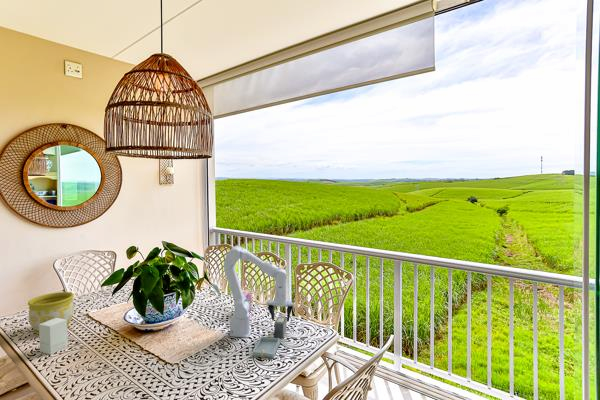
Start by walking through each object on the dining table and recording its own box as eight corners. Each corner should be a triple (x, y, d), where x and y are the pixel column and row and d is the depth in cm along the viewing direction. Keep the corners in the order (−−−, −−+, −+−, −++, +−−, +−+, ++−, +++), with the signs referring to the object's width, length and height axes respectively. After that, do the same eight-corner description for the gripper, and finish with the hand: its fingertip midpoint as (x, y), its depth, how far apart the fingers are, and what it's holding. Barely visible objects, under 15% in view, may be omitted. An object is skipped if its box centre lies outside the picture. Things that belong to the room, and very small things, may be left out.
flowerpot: (27, 341, 138) (27, 307, 137) (29, 328, 152) (28, 297, 151) (75, 330, 150) (75, 298, 149) (73, 318, 163) (72, 289, 163)
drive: (274, 337, 144) (274, 323, 144) (277, 329, 152) (278, 316, 151) (283, 338, 143) (283, 323, 143) (286, 330, 151) (286, 316, 151)
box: (244, 316, 167) (244, 296, 166) (235, 315, 168) (235, 295, 167) (251, 309, 177) (251, 290, 176) (242, 308, 178) (242, 289, 178)
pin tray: (251, 357, 126) (251, 349, 126) (261, 339, 141) (261, 332, 141) (272, 359, 125) (272, 351, 125) (280, 341, 140) (280, 334, 140)
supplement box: (68, 346, 134) (67, 319, 134) (50, 355, 127) (49, 326, 127) (57, 343, 137) (56, 317, 136) (39, 351, 130) (38, 324, 129)
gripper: (264, 295, 144) (264, 322, 144) (293, 297, 142) (293, 324, 142) (268, 290, 151) (268, 316, 151) (295, 292, 149) (295, 318, 149)
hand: (280, 320), depth 147 cm, fingers open, 7 cm apart
